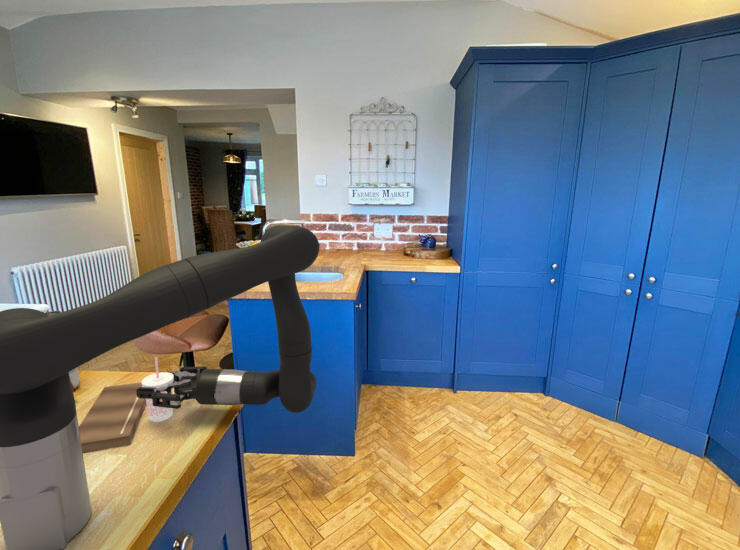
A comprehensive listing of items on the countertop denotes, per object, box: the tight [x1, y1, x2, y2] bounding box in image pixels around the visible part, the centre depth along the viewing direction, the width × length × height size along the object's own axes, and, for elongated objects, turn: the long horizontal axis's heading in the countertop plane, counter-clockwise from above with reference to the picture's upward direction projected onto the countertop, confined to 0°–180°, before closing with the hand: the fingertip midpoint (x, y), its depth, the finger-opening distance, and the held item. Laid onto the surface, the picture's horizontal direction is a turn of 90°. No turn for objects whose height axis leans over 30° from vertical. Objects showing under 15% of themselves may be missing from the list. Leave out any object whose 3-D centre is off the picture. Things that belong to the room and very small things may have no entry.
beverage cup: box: [141, 356, 174, 423], centre depth 79 cm, size 6×6×14 cm
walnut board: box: [79, 381, 174, 453], centre depth 81 cm, size 24×17×2 cm
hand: (147, 384), depth 78 cm, fingers closed on beverage cup, 6 cm apart
